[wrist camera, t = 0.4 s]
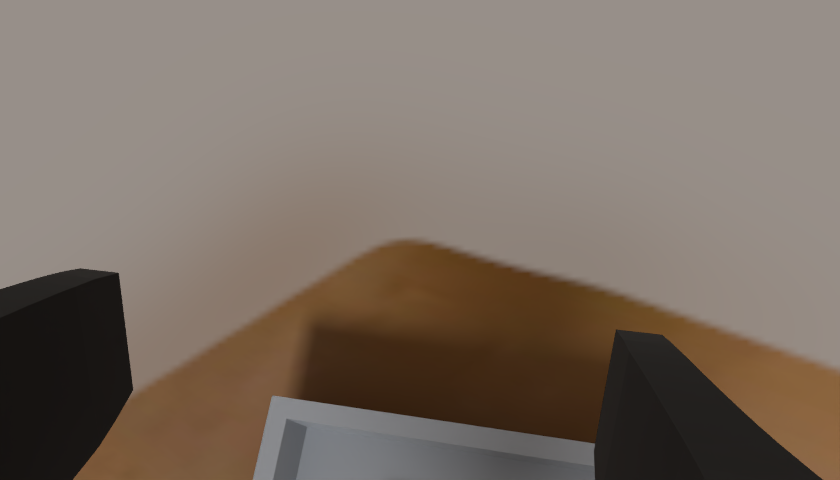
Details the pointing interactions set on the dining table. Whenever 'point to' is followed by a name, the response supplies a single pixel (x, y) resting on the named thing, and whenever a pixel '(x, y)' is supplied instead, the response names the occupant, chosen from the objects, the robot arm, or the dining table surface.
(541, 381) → the dining table surface
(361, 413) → the box
